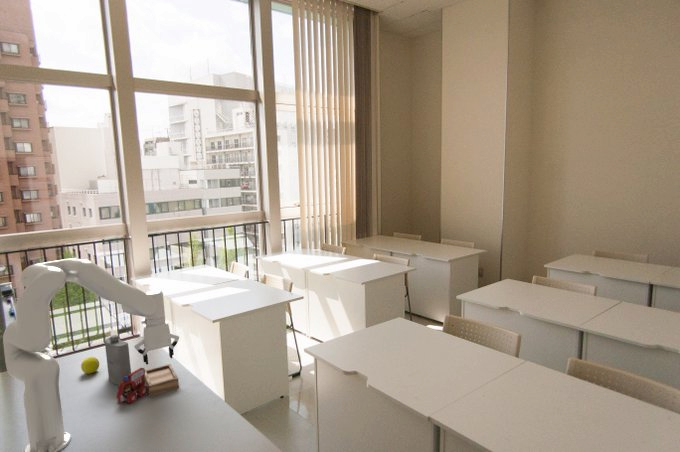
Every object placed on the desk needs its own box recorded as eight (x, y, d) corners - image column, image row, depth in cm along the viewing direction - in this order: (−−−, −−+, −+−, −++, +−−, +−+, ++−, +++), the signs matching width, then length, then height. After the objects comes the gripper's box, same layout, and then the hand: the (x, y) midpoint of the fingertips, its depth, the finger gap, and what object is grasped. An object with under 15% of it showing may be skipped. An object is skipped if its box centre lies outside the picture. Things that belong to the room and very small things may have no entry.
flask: (105, 378, 184) (100, 334, 182) (118, 372, 189) (114, 330, 186) (119, 388, 175) (115, 342, 172) (134, 382, 179) (129, 337, 177)
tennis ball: (80, 372, 190) (78, 358, 189) (97, 367, 195) (96, 353, 194) (84, 377, 185) (82, 362, 184) (101, 372, 190) (100, 357, 189)
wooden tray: (179, 388, 173) (178, 378, 173) (150, 396, 167) (149, 386, 167) (171, 373, 187) (170, 363, 186) (144, 380, 181) (143, 370, 180)
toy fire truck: (112, 404, 163) (109, 379, 161) (139, 389, 174) (136, 365, 173) (125, 407, 160) (122, 382, 159) (151, 392, 171) (149, 367, 170)
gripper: (133, 327, 166) (137, 369, 168) (179, 318, 175) (182, 358, 177) (131, 322, 172) (135, 362, 174) (175, 313, 181) (178, 351, 183)
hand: (159, 360), depth 176 cm, fingers open, 9 cm apart
